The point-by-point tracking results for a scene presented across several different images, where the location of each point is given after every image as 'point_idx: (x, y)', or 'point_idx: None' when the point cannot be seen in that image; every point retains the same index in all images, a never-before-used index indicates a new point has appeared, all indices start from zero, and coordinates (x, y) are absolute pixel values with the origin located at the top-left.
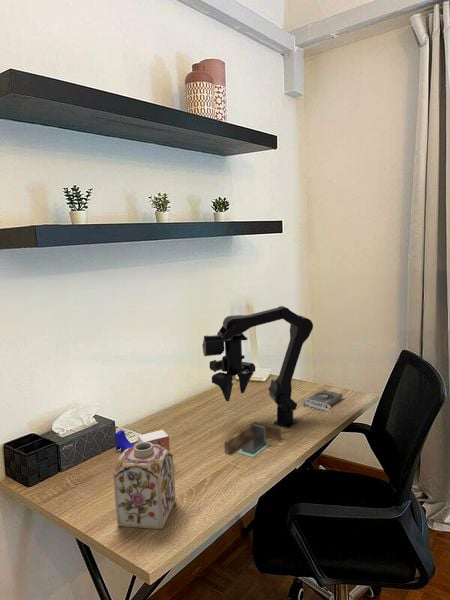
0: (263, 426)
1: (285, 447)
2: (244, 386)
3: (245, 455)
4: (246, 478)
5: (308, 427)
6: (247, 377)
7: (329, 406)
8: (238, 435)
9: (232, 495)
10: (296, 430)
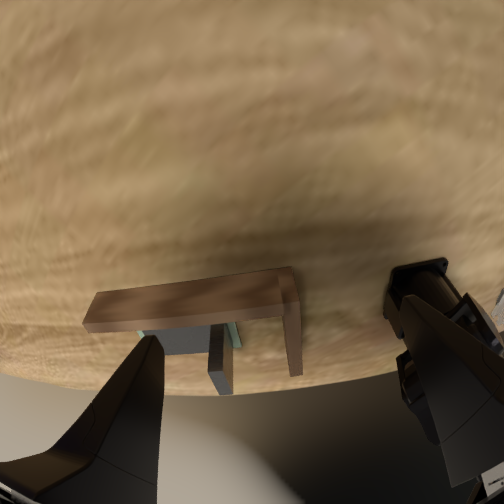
0: (229, 390)
1: (260, 368)
2: (423, 375)
3: (141, 335)
4: (95, 373)
5: None
6: (452, 460)
7: (499, 322)
8: (148, 328)
9: (56, 375)
10: (374, 334)
